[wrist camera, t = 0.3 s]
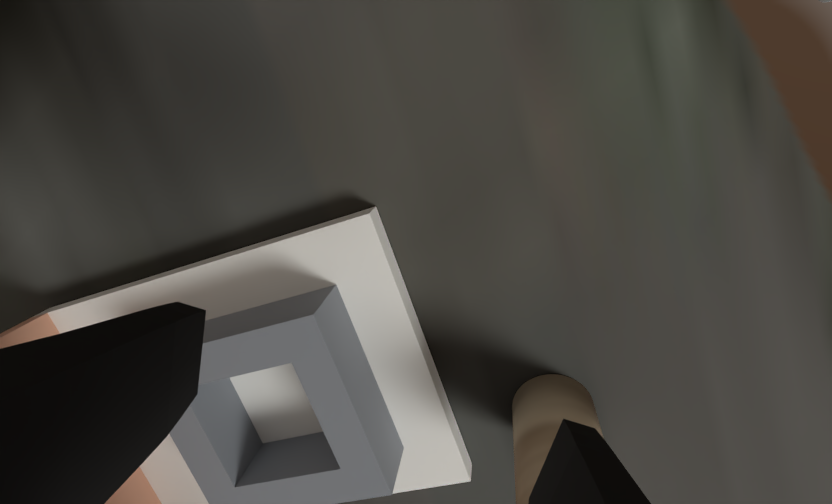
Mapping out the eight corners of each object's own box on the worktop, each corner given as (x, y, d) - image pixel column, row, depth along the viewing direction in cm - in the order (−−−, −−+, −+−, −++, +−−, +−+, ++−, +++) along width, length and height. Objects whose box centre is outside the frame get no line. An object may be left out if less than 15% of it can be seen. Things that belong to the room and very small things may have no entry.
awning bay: (471, 463, 22) (460, 630, 15) (171, 513, 26) (60, 662, 19) (375, 206, 19) (309, 278, 12) (49, 307, 22) (-134, 403, 16)
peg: (601, 433, 20) (641, 570, 15) (523, 446, 21) (533, 580, 16) (583, 366, 19) (617, 484, 14) (502, 382, 20) (504, 500, 15)
